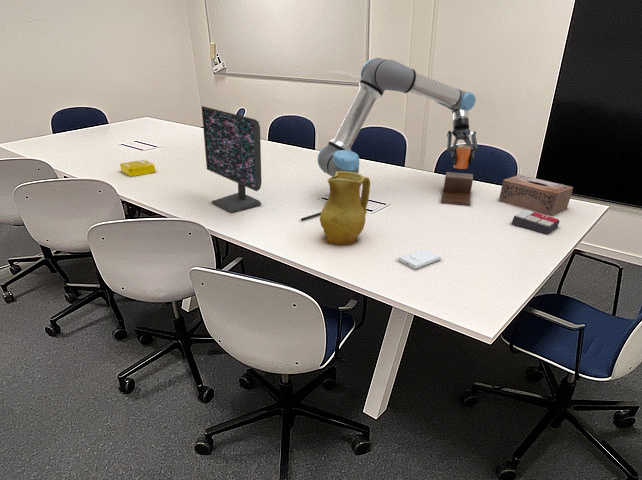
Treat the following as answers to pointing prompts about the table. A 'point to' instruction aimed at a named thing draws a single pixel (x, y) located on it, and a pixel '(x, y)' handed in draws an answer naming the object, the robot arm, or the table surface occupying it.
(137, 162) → the element tile
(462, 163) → the canister
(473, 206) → the table surface
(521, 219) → the grey and red box
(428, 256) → the hard drive
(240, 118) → the computer monitor
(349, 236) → the pitcher
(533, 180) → the tissue box cover
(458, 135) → the robot arm
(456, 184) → the brown wooden step stand
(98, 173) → the table surface
